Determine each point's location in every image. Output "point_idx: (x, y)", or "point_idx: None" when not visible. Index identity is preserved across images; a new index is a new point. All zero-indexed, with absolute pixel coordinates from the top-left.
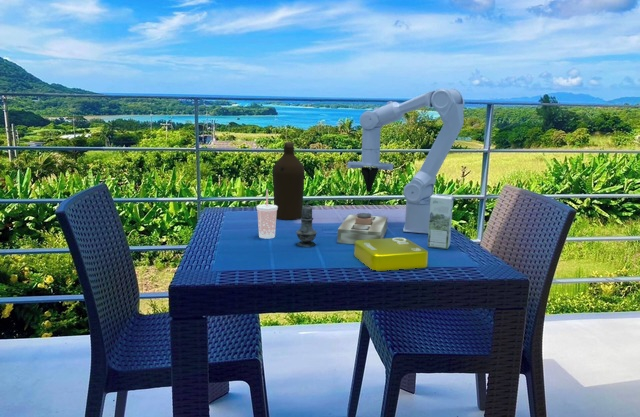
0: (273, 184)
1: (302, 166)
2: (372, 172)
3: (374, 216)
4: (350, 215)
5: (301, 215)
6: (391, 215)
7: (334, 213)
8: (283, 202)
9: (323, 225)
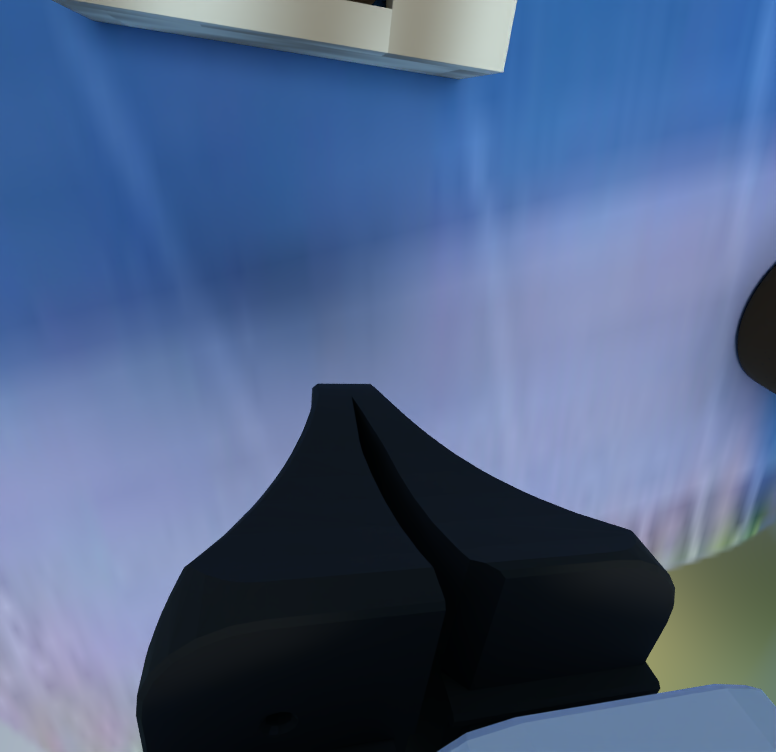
0: None
1: None
2: (325, 569)
3: (217, 3)
4: (494, 16)
5: (762, 304)
6: (168, 533)
7: (533, 473)
8: None
9: (650, 100)
